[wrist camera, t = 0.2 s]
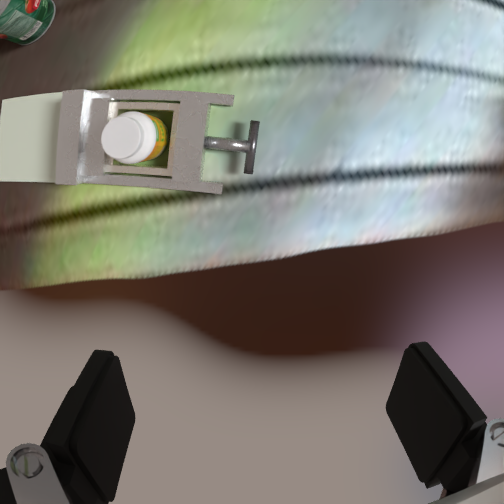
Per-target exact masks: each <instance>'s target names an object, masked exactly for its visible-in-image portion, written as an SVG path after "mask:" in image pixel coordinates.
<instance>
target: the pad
mask: <svg viewBox="0 0 504 504" xmlns="http://www.w3.org/2000/svg"><path fill="white" fill-rule="evenodd" d="M62 93H63V92H58V93H48V94H39V95H31V96H24V97H17V98H11V99H5V100H2V108H1V117H0V181H19V182H54V183H56V156H57V140H58V128H59V118H60V109H61V101H62Z"/></svg>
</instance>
